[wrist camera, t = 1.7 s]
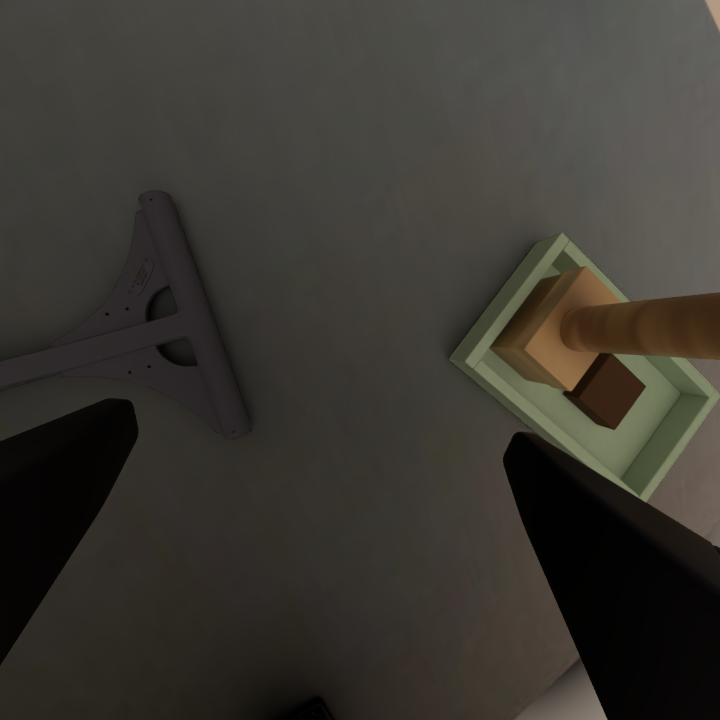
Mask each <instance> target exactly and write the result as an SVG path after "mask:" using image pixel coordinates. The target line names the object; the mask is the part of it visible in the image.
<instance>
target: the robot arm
mask: <svg viewBox="0 0 720 720" xmlns="http://www.w3.org/2000/svg"><path fill="white" fill-rule="evenodd" d="M137 437H138V425H137V420H136V415H135V411H134V406H133V404H132V402H131V401H129V400H127V399H115V398H109V399H105V400H102V401H100V402H97V403H95V404H92V405H90V406H87V407H85V408H82V409H80V410H77V411H75V412H72V413H70V414H67V415H65V416H62V417H60V418H57V419H55V420H52V421H50V422H47V423H45V424H42V425H40V426H37V427H35V428H32V429H30V430H27V431H25V432H22V433H20V434H17V435H15V436H12V437H10V438H7V439H5V440H2V441H0V665H1V663H2V662H3V660H4V659H5V657H6V656H7V654H8V652H9V651H10V649H11V648H12V646H13V645H14V643H15V642H16V640H17V639H18V637H19V635H20V634H21V632H22V631H23V629H24V628H25V626H26V625H27V623H28V621H29V620H30V618H31V617H32V615H33V614H34V612H35V611H36V609H37V608H38V606H39V604H40V603H41V601H42V600H43V598H44V597H45V595H46V594H47V592H48V590H49V589H50V587H51V586H52V584H53V583H54V581H55V580H56V578H57V577H58V575H59V573H60V572H61V570H62V569H63V567H64V566H65V564H66V563H67V561H68V560H69V558H70V556H71V555H72V553H73V552H74V550H75V549H76V547H77V546H78V544H79V542H80V541H81V539H82V538H83V536H84V535H85V533H86V532H87V530H88V529H89V527H90V525H91V524H92V522H93V521H94V519H95V518H96V516H97V514H98V513H99V511H100V510H101V508H102V506H103V505H104V503H105V501H106V499H107V497H108V495H109V494H110V492H111V490H112V488H113V486H114V484H115V482H116V480H117V478H118V476H119V474H120V472H121V470H122V468H123V466H124V464H125V462H126V460H127V458H128V456H129V454H130V452H131V450H132V448H133V446H134V444H135V442H136V440H137ZM503 464H504V468H505V471H506V474H507V477H508V480H509V483H510V486H511V489H512V492H513V495H514V498H515V501H516V505H517V508H518V511H519V514H520V517H521V519H522V522H523V525H524V527H525V530H526V532H527V535H528V537H529V539H530V541H531V544H532V546H533V548H534V551H535V553H536V555H537V558H538V560H539V562H540V565H541V567H542V569H543V572H544V574H545V576H546V578H547V581H548V583H549V585H550V588H551V590H552V592H553V595H554V597H555V599H556V602H557V604H558V606H559V609H560V611H561V613H562V615H563V618H564V620H565V622H566V625H567V627H568V629H569V632H570V634H571V636H572V639H573V641H574V643H575V646H576V648H577V650H578V652H579V655H580V657H581V659H582V662H583V664H584V666H585V669H586V671H587V673H588V676H589V678H590V680H591V682H592V685H593V687H594V689H595V692H596V694H597V696H598V698H599V701H600V703H601V706H602V708H603V710H604V713H605V715H606V717H607V719H608V720H720V548H719V547H717V546H713V545H712V544H711V542H709V541H708V540H706V539H704V538H703V537H701V536H700V535H698V534H696V533H695V532H693V531H691V530H690V529H688V528H687V527H685V526H683V525H682V524H680V523H679V522H677V521H675V520H674V519H672V518H670V517H669V516H667V515H666V514H664V513H662V512H661V511H659V510H657V509H656V508H654V507H653V506H651V505H649V504H648V503H646V502H645V501H643V500H641V499H640V498H638V497H636V496H635V495H633V494H632V493H630V492H628V491H627V490H625V489H624V488H622V487H620V486H619V485H617V484H615V483H614V482H612V481H611V480H609V479H607V478H606V477H604V476H602V475H601V474H599V473H598V472H596V471H594V470H593V469H591V468H590V467H588V466H586V465H585V464H583V463H581V462H580V461H578V460H577V459H575V458H573V457H572V456H570V455H569V454H567V453H565V452H564V451H562V450H560V449H559V448H557V447H556V446H554V445H552V444H551V443H549V442H547V441H546V440H544V439H543V438H541V437H539V436H538V435H536V434H534V433H530V432H517V433H515V434H514V435H513V437H512V439H511V441H510V443H509V445H508V447H507V450H506V452H505V454H504V457H503ZM282 720H334V718H333V717H332V715H331V713H330V712H329V710H328V708H327V707H326V705H325V703H324V702H323V700H322V699H314V700H312V701H311V702H309V703H308V704H306V705H305V706H303V707H301V708H300V709H298V710H297V711H295V712H293V713H292V714H290V715H289V716H287V717H285V718H284V719H282Z"/></svg>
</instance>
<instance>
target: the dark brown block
mask: <svg viewBox="0 0 720 720" xmlns="http://www.w3.org/2000/svg"><path fill="white" fill-rule="evenodd" d="M645 388H646V385H645V384H644V383H642V382H641V381H640V380H639V379H638V378H637V377H636V376H635V375H634V374H633V373H632V372H631V371H630V370H629V369H628V368H627V367H626V366H625V365H624V364H623V363H622V362H621V361H620V360H619V359H618V358H617V357H616V356H614V355H613V354H611V353H599V354H598V356H597V357H596V359H595V360H594V361H593V363H592V364H591V365H590V367H589V368H588V370H587V371H586V372H585V374H584V375H583V376H582V378H581V379H580V380H579V382H578V383H577V385H576V386H575V387H574V389H573V390H572V391H566V390H565V391H564V393H563V395H564V396H565V397H566V398H567V399H568V400H569V401H571V402H572V403H573V404H574V405H575V406H576V407H577V408H578V409H580V410H581V411H582V412H583V413H584V414H585V415H586V416H587V417H589V418H590V419H591V420H592V421H593V422H594V423H595V424H596V425H599V426H603V427H606V428H609V429H612V430H616V428H617V427H618V425H619V424H620V423H621V421H622V420H623V418H624V417H625V416H626V414H627V413H628V411H629V410H630V409H631V407H632V406H633V405H634V403H635V402H636V400H637V399H638V398H639V396H640V395H641V393H642V392H643V391H644V389H645Z"/></svg>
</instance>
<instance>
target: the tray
mask: <svg viewBox="0 0 720 720" xmlns="http://www.w3.org/2000/svg"><path fill="white" fill-rule="evenodd" d="M584 266H586V267H588V268H589V269H590V270H591V272H592V273H593V274H594V275H595V276H596V277H597V278H598V279H599V280H600V281H601V282H602V283H603V284H604V285H605V286H606V287H607V288H608V289H609V290H610V291H611V292H612V293H613V294H614V295H615V296H616V297H617V298H618V299H619V300H620V301H621V302H622V303H624V302H630V301H629V300H628V299H627V298H626V297H625V296H624V295H623V294H622V293H621V292H620V291H619V290H618V289H617V288H616V287H615V286H614V285H613V284H612V283H611V282H610V281H609V280H608V279H607V278H606V276H605V275H604V274H603V273H602V272H601V271H600V270H599V269H598V268H597V267H596V266H595V265H594V264H593V263H592V262H591V261H590V260H589V259H588V258H587V257H586V256H585V255H584V254H583V253H582V252H581V251H580V250H579V249H578V248H577V247H576V246H575V245H574V244H573V243H572V242H571V241H569V239H568V238H567V237H566V236H565V235H564V234H563V233H559V234H557V235H555V236H552V237H550V238H547V239H545V240H542V241H539V242H537V243H536V244H535V245H534V246H533V248H532V249H531V250H530V252H529V253H528V254H527V256H526V257H525V258H524V260H523V261H522V262H521V264H520V265H519V266H518V267H517V269H516V270H515V271H514V273H513V274H512V275H511V277H510V278H509V279H508V281H507V282H506V283H505V285H504V286H503V287H502V289H501V290H500V291H499V293H498V294H497V295H496V297H495V298H494V299H493V301H492V302H491V303H490V305H489V306H488V307H487V308H486V310H485V311H484V312H483V314H482V315H481V316H480V318H479V319H478V320H477V322H476V323H475V324H474V326H473V327H472V328H471V330H470V331H469V332H468V334H467V335H466V336H465V338H464V339H463V340H462V342H461V343H460V344H459V345H458V347H457V348H456V349H455V351H454V352H453V353H452V355H451V356H450V357H449V360H450V361H451V362H452V363H454V364H455V365H456V366H457V367H458V368H460V369H461V370H462V371H463V372H464V373H466V374H467V375H468V376H469V377H470V378H472V379H473V380H474V381H475V382H476V383H477V384H479V385H480V386H481V387H482V388H483V389H485V390H486V391H487V392H488V393H489V394H491V395H492V396H493V397H494V398H495V399H497V400H498V401H499V402H500V403H501V404H503V405H504V406H505V407H506V408H507V409H508V410H510V411H511V412H512V413H513V414H514V415H516V416H517V417H518V418H519V419H520V420H522V421H523V422H524V423H525V424H526V425H528V426H529V427H530V428H531V429H532V430H534V431H535V432H536V433H537V434H538V435H540V436H541V437H542V438H543V439H544V440H546V441H547V442H549V443H551V444H552V445H554V446H556V447H557V448H559V449H560V450H562V451H564V452H565V453H567V454H569V455H570V456H572V457H573V458H575V459H577V460H578V461H580V462H581V463H583V464H585V465H586V466H588V467H590V468H591V469H593V470H594V471H596V472H598V473H599V474H601V475H602V476H604V477H606V478H607V479H609V480H611V481H612V482H614V483H615V484H617V485H619V486H620V487H622V488H624V489H625V490H627V491H628V492H630V493H632V494H633V495H635V496H636V497H638V498H640V499H641V500H643V501H645V502H647V500H648V499H649V497H650V496H651V494H652V493H653V492H654V490H655V489H656V487H657V486H658V485H659V483H660V482H661V480H662V479H663V477H664V476H665V475H666V473H667V472H668V470H669V469H670V468H671V466H672V465H673V463H674V462H675V460H676V459H677V458H678V456H679V455H680V453H681V452H682V451H683V449H684V448H685V446H686V445H687V443H688V442H689V441H690V439H691V438H692V436H693V435H694V433H695V432H696V431H697V429H698V428H699V426H700V425H701V424H702V422H703V421H704V419H705V418H706V416H707V415H708V414H709V412H710V411H711V409H712V408H713V407H714V405H715V404H716V402H717V401H718V399H719V398H720V394H719V393H718V392H717V391H716V390H715V388H714V387H713V386H712V385H711V384H710V383H709V382H708V381H707V380H706V379H705V378H704V377H703V376H702V375H701V374H700V373H699V372H698V371H697V370H696V369H695V368H694V367H693V366H692V365H691V364H690V363H689V362H688V361H687V360H686V359H685V358H680V357H663V356H646V355H628V354H613V355H614V356H616V357H617V358H618V359H619V360H620V361H621V362H622V363H623V364H624V365H625V366H626V367H627V368H628V369H629V370H630V371H631V372H632V373H633V374H634V375H635V376H636V377H637V378H638V379H639V380H640V381H641V382H642V383H644V384H645V385H646V388H645V389H644V391H643V392H642V393H641V395H640V396H639V398H638V399H637V400H636V402H635V403H634V405H633V406H632V407H631V409H630V410H629V411H628V413H627V414H626V416H625V417H624V418H623V420H622V421H621V423H620V424H619V425H618V427H617V428H616V430H612V429H609V428H606V427H603V426H599V425H596V424H595V423H594V422H593V421H592V420H591V419H590V418H589V417H587V416H586V415H585V414H584V413H583V412H582V411H581V410H580V409H578V408H577V407H576V406H575V405H574V404H573V403H572V402H571V401H569V400H568V399H567V398H566V397H565V396H564V395H563V393H564V391H565V390H561V389H557V388H552V387H551V386H549V385H547V384H542V383H537V382H532V381H527V380H525V379H524V378H523V377H522V376H521V375H519V374H518V373H517V372H516V371H515V370H514V369H512V368H511V367H510V366H509V365H508V364H507V363H506V362H504V361H503V360H502V359H501V358H500V357H499V356H498V355H496V354H495V353H494V352H493V351H492V350H491V349H490V348H489V347H490V346H491V344H492V343H493V342H494V340H495V339H496V338H497V336H498V335H499V334H500V332H501V331H502V330H503V328H504V327H505V326H506V324H507V323H508V322H509V320H510V319H511V318H512V316H513V315H514V314H515V312H516V311H517V310H518V308H519V307H520V306H521V304H522V303H523V302H524V300H525V299H526V298H527V296H528V295H529V294H530V292H531V291H532V290H533V288H534V287H535V286H536V284H537V283H538V282H539V280H540V279H543V278H547V277H552V276H556V275H560V274H563V273H564V272H565V271H568V270H572V269H576V268H580V267H584Z"/></svg>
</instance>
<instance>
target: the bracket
mask: <svg viewBox="0 0 720 720" xmlns="http://www.w3.org/2000/svg"><path fill="white" fill-rule="evenodd" d="M139 202H140V205H141V208H142V210H141V211H137V212H136V218H135V228H134V236H133V241H132V246H131V250H130V254H129V257H128V260H127V263H126V266H125V268H124V271H123V273H122V275H121V277H120V279H119V281H118V283H117V284H116V286H115V288H114V290H113V291H112V293H111V294H110V296H109V297H108V299H107V301H106V302H105V303H104V304H103V305H102V307H100V308H99V309H98V310H97V311H96V312H95V313H94V314H93V315H92V316H91V317H89V318H88V319H87V320H86V321H85V322H83V323H82V324H81V325H80V326H78V327H77V328H75V329H74V330H72V331H71V332H69V333H68V334H66V335H64V336H62V337H61V338H59V339H57V340H56V341H54V342H52V343H51V344H49V347H50V349H48V350H44V351H40V352H36V353H32V354H28V355H24V356H20V357H16V358H12V359H8V360H4V361H0V391H1V390H4V389H8V388H11V387H15V386H18V385H22V384H25V383H29V382H32V381H36V380H39V379H43V378H47V377H50V376H54V375H57V374H61V376H62V377H85V376H89V377H107V378H115V379H121V380H127V381H133V382H137V383H140V384H142V385H145V386H147V387H150V388H153V389H155V390H157V391H160V392H162V393H164V394H166V395H168V396H170V397H172V398H173V399H175V400H177V401H178V402H180V403H182V404H183V405H185V406H186V407H188V408H189V409H190V410H192V411H193V412H194V413H195V414H197V415H198V416H199V417H200V418H201V419H202V420H203V421H205V422H206V423H207V424H208V425H209V426H210V427H211V428H212V429H213V430H214V431H215V432H216V433H221V432H223V434H224V437H225V439H226V440H233V439H236V438H239V437H242V436H244V435H246V434H248V433H249V432H251V431H252V427H251V424H250V421H249V418H248V416H247V413H246V410H245V407H244V404H243V401H242V398H241V396H240V393H239V390H238V387H237V384H236V381H235V378H234V376H233V373H232V370H231V367H230V364H229V361H228V358H227V356H226V353H225V350H224V347H223V344H222V341H221V338H220V336H219V333H218V330H217V327H216V324H215V321H214V318H213V315H212V313H211V310H210V307H209V304H208V301H207V298H206V295H205V293H204V290H203V287H202V284H201V281H200V278H199V275H198V273H197V270H196V267H195V264H194V261H193V258H192V255H191V253H190V250H189V247H188V244H187V241H186V238H185V235H184V233H183V230H182V227H181V224H180V221H179V218H178V215H177V213H176V210H175V207H174V204H173V201H172V198H171V196H170V195H169V194H168V193H166V192H162V191H148V192H144V193H143V194H141V195H140V196H139ZM168 286H170V288H171V291H172V294H173V296H174V299H175V303H176V306H177V313H175V314H173V315H170V316H167V317H164V318H160V319H157V320H154V321H150V322H149V321H148V307H149V304H150V302H151V300H152V299H153V297H154V296H155V295H156V294H157V293H158V292H159V291H161V290H162V289H164V288H166V287H168ZM128 308H129V310H128ZM108 314H109V315H108ZM185 338H186V339H188V341H189V342H190V345H191V347H192V349H193V352H194V354H195V357H196V360H197V362H198V365H197V366H182V365H178V364H176V363H173V362H172V361H170V360H169V359H167V358H166V357H165V356H164V355H163V354H162V353H161V352H160V350H159V347H158V346H159V345H163V344H166V343H170V342H173V341H177V340H180V339H185ZM150 366H151V368H150ZM131 371H132V373H131Z"/></svg>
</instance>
